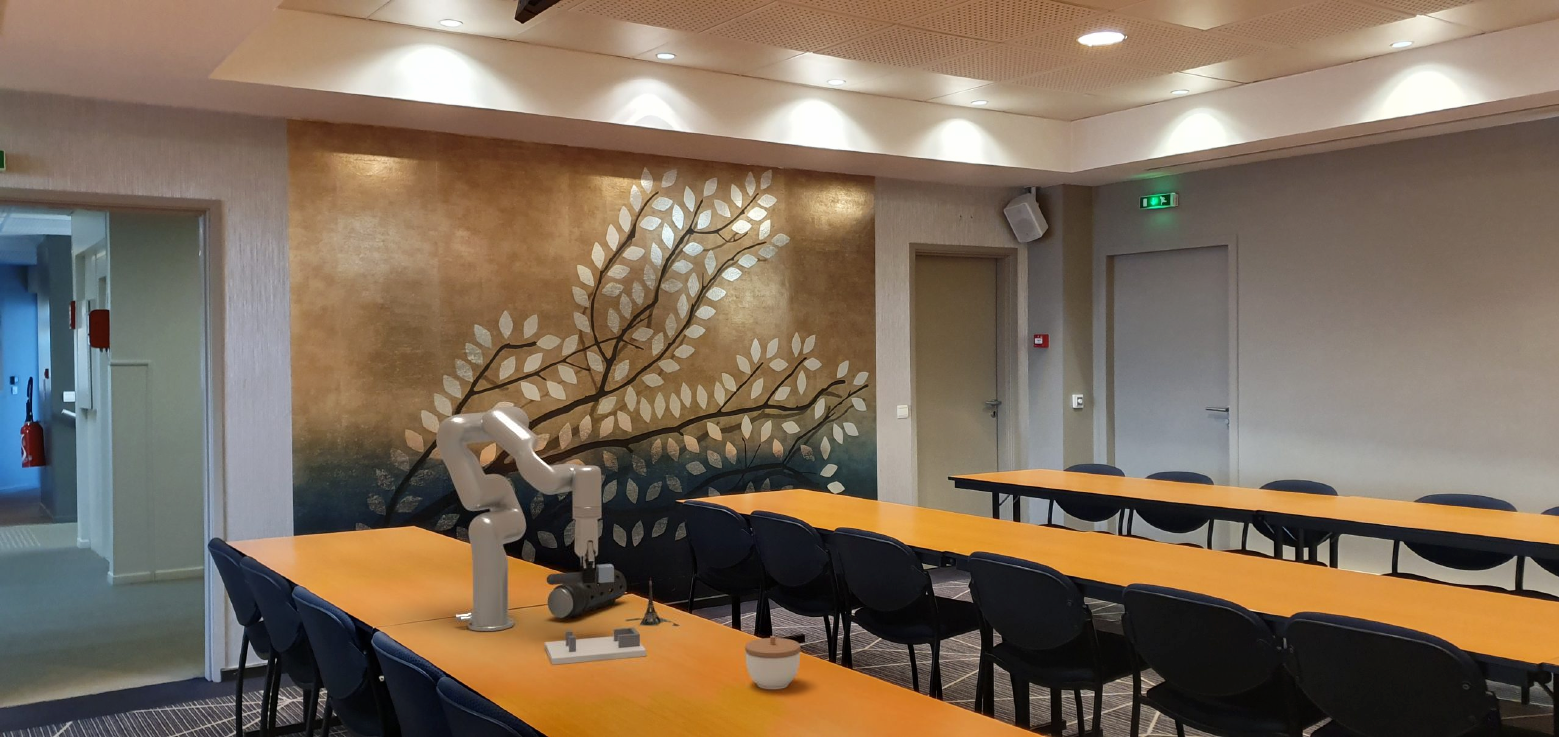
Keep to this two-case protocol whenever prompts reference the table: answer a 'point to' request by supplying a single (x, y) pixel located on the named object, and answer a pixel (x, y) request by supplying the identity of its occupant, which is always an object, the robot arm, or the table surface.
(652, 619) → the eiffel tower figurine
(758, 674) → the lidded bowl
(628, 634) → the cable board
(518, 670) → the table surface
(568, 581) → the cable
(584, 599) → the muzzle brake
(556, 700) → the table surface
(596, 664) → the table surface
